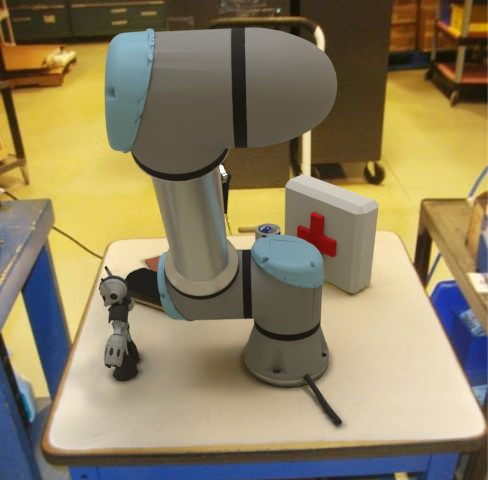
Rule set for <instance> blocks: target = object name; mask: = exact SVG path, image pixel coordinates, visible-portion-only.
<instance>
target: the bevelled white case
mask: <svg viewBox="0 0 488 480" xmlns="http://www.w3.org/2000/svg"><path fill="white" fill-rule="evenodd" d="M378 215H379V202H378V201H376V199H374V198H371V197H369V196H366V195H363V194H360V193H358V192H354V191H352V190H349V189H346V188H343V187H341V186H338V185H335V184H332V183H329V182H327V181H324V180H321V179H318V178H317V177H316V178H315V177H314V176H310V175H308V174H305V173H303V174H300V175H298V176H295V177H292V178H290V179H289V180H288V181H287V182H286V184H285V186H284V235H289V236H294V237H298V238H301V239H303V240H305V241H307V242H308V243H311V244H312V245H314V246H315V247H316V248H317V249H318V250H319V252H320V253H321V255H322V258H323V274H324V282H327V283H329V284H332V285H333V286H335V287H337V288H339V289H341V290H343V291H345V292H348V293H350V294H352V295H355V294H356V293H358V292H359V291H361V290H363V289H365V288H367V287H368V286H370V285H371V281H372V272H373V271H372V270H373V260H374V253H375V252H374V251H375V244H376V233H377V224H378Z"/></svg>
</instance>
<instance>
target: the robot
mask: <svg viewBox="0 0 488 480" xmlns="http://www.w3.org/2000/svg"><path fill="white" fill-rule="evenodd" d="M104 271H105V272H106V274H107V275H108V276H106V277H104V278H103V277H101V278H100V282H99V285H98V291H99V295H100V296H101V297H102V301H103V306H104V307H105V308H107V307H108V308H107V312H108V319H107V321H108V325H109V324H111V326H112V329H113V333H112V334H110V335H109V337H108V339H107V340H106V344H105V347H104V354H103V361H104V362H103V363H104V367H107V369H111V368H112V367H113V368H114V370H113V371H112V377H113V378H114V379H115V381H119V382H126V381H129V380H133V379H135V378H136V377H137V375H138V374H139V369H138V366H137V363H139V362H140V361H141V357H140V353H139V350H138V347H137V345H136V343H135V341H134V339H132V336H131V333H130V328H131V327H130V322H129V313H131V312H132V310H133V309H134V306H135V301H134V300H133V298H131V296H130V294H129V286H128V284H127V282H126V281H125V278H124V277H121V276H119V275H115V274H113V273H112V272H111V270H110V269H109V267H108V265H105V266H104Z"/></svg>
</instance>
